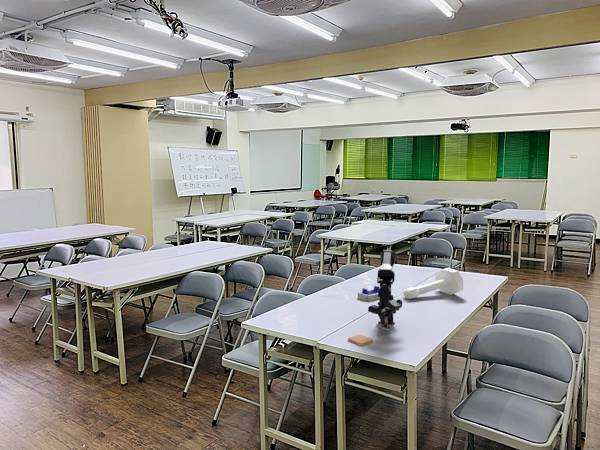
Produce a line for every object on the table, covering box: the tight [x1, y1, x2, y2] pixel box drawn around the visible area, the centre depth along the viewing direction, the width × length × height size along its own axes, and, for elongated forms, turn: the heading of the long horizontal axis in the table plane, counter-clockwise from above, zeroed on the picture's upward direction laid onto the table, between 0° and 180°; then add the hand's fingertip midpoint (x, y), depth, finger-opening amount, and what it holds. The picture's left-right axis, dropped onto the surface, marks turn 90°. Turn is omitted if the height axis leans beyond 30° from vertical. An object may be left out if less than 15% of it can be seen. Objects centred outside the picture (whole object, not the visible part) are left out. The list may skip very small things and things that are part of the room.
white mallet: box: [403, 267, 464, 300], centre depth 297 cm, size 24×18×35 cm
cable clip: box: [361, 285, 380, 295], centre depth 296 cm, size 12×4×6 cm, turn 125°
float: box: [375, 315, 395, 331], centre depth 231 cm, size 8×5×6 cm, turn 37°
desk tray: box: [357, 288, 380, 302], centre depth 296 cm, size 10×18×4 cm, turn 126°
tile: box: [347, 333, 374, 347], centre depth 221 cm, size 9×2×8 cm
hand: (384, 323), depth 231 cm, fingers closed on float, 2 cm apart
